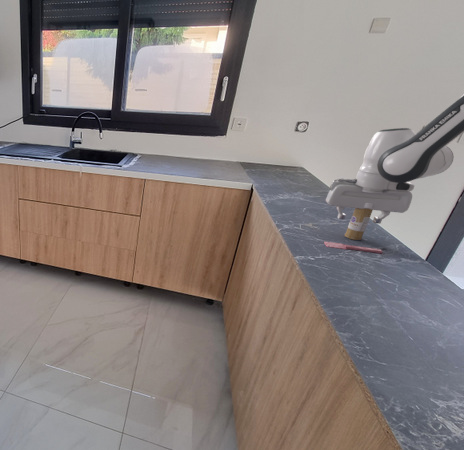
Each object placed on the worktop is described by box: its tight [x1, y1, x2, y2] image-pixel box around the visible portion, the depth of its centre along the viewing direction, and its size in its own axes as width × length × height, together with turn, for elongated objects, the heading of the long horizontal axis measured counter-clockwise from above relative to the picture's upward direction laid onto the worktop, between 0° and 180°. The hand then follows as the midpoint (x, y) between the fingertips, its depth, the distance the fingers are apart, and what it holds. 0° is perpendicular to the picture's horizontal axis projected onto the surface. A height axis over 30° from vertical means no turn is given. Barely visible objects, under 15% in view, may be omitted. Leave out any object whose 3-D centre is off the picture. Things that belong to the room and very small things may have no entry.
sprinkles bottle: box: [344, 203, 374, 241], centre depth 104 cm, size 5×5×13 cm
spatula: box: [323, 241, 383, 255], centre depth 99 cm, size 14×4×1 cm, turn 65°
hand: (358, 220), depth 104 cm, fingers open, 8 cm apart
